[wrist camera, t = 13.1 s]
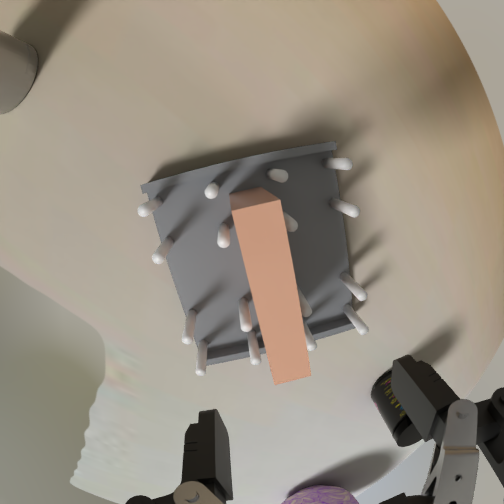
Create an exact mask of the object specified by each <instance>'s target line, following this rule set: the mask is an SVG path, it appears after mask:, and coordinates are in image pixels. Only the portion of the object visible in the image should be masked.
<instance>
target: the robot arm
mask: <svg viewBox="0 0 504 504" xmlns="http://www.w3.org/2000/svg"><path fill="white" fill-rule="evenodd" d="M37 67H38V57H37V53H36V50H35V49H34V48H33V47H32V46H31V45H29V44H27V43H25V42H23V41H21V40H19V39H17V38H15V37H13V36H11V35H9V34H7V33H5V32H3V31H0V114H4V113H7V112H9V111H11V110H12V109H14V108H15V107H16V106H17V105H18V104H19V103H20V102H21V101H22V100H23V99H24V97H25V96H26V94H27V93H28V91H29V90H30V87H31V85H32V83H33V81H34V78H35V75H36V71H37ZM391 388H392V391H393V394H394V395H395V397H396V398H397V400H398V401H399V403H400V404H401V406H402V407H403V409H404V410H405V412H406V413H407V415H408V416H409V418H410V419H411V421H412V422H413V424H414V425H415V427H416V429H417V430H418V432H419V433H420V435H421V436H422V438H423V439H424V441H425V442H427V441H428V440H430V439H432V438H433V439H434V441H435V445H434V450H433V454H432V459H431V464H430V468H429V472H428V476H427V479H426V482H425V484H424V487H423V490H422V493H421V495H415V496H407V497H406V495H405V493H402V494H399V495H397V496H395V497H393V498H390V499H388V500H386V501H383V502H381V503H379V504H472V500H473V495H474V490H475V484H476V477H477V470H478V462H479V450H478V449H476V445H478V446H479V448H480V449H481V450H482V452H483V454H484V455H485V457H486V459H487V460H488V462H489V463H490V465H491V467H492V468H493V470H494V472H495V473H496V475H497V477H498V478H499V480H500V482H501V484H502V485H503V487H504V388H500V389H497V390H496V391H495V392H494V393H493V395H492V397H491V399H488V400H484V401H481V402H478V403H473V402H471V401H470V400H467V399H460V398H459V397H458V396H457V395H456V394H455V393H454V391H453V390H452V389H451V388H450V387H449V386H448V385H447V383H446V382H445V381H444V380H443V379H441V377H440V376H439V374H438V373H436V371H435V370H434V369H433V368H432V367H431V365H429V364H427V363H425V362H423V361H419V362H416V361H415V360H414V359H413V357H412V356H411V355H405V356H403V357H401V358H398V359H396V360H394V361H393V367H392V377H391ZM184 443H185V445H184V454H183V468H182V481H181V484H180V485H179V486H178V487H177V488H176V490H175V491H174V492H173V493H171V494H169V495H166V496H163V497H159V498H156V499H152V500H151V499H150V498H149V497H146V496H142V495H139V496H134V497H132V498H130V499H129V500H128V501H127V502H126V504H226V501H227V500H233V491H232V478H231V463H230V447H229V437H228V432H227V429H226V427H225V425H224V423H223V421H222V419H221V417H220V415H219V412H218V410H217V409H213V410H206V411H200V412H199V420H198V423H195V424H190V426H189V427H188V429H187V431H186V433H185V441H184ZM503 501H504V500H503Z"/></svg>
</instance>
